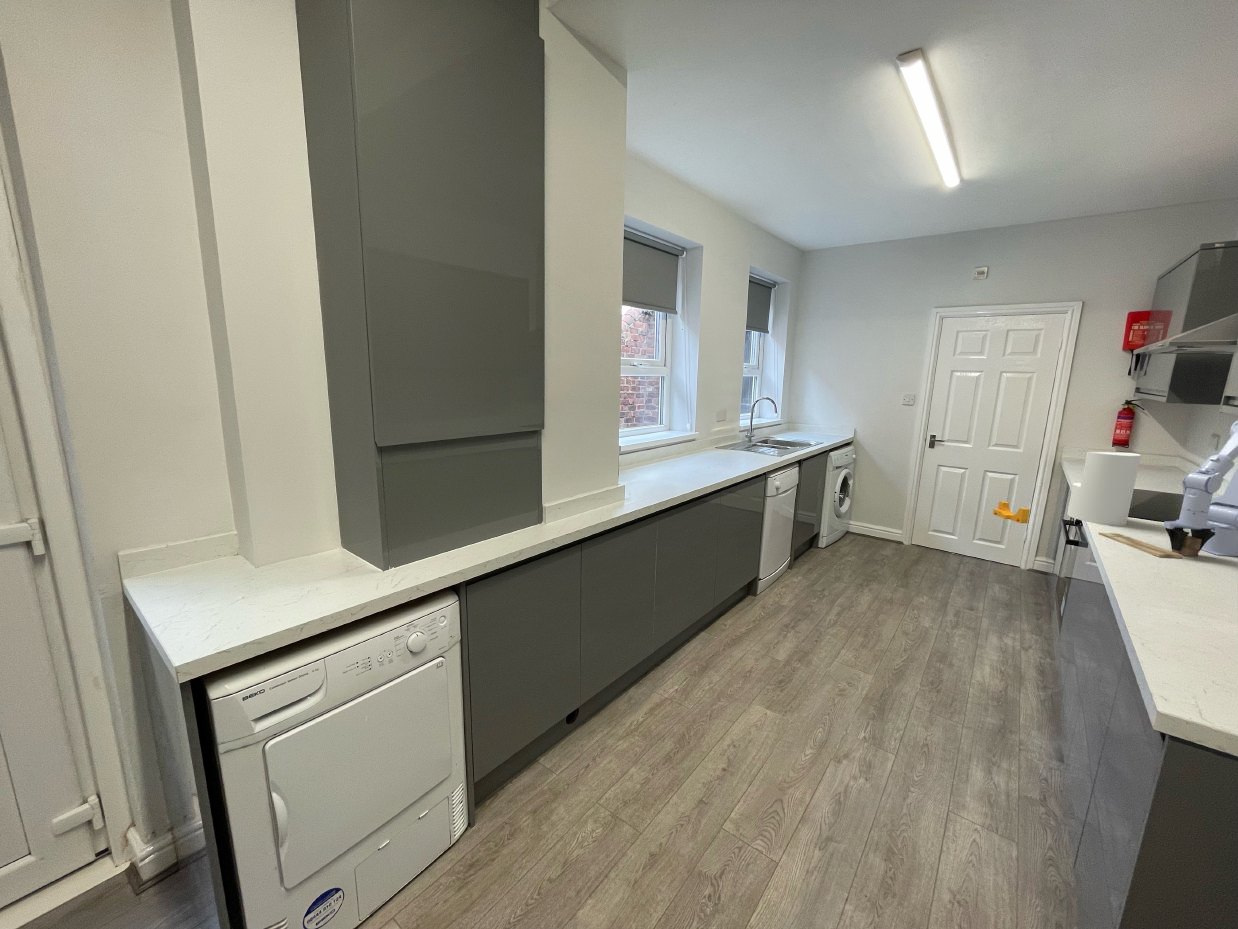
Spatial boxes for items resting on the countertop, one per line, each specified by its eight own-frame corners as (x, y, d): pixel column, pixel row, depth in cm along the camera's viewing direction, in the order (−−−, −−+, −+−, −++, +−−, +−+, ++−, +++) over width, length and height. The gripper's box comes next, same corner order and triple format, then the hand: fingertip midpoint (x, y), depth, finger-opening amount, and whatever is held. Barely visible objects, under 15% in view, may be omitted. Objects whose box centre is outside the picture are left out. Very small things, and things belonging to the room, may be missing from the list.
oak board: (1118, 536, 178) (1119, 533, 178) (1182, 558, 156) (1182, 554, 156) (1098, 535, 178) (1098, 532, 178) (1158, 557, 157) (1159, 553, 157)
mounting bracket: (992, 516, 201) (994, 501, 200) (1002, 516, 201) (1005, 501, 200) (1015, 525, 190) (1018, 509, 188) (1027, 525, 190) (1029, 509, 189)
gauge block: (1184, 552, 162) (1188, 535, 161) (1197, 557, 158) (1201, 539, 157) (1171, 552, 162) (1175, 534, 161) (1184, 556, 158) (1188, 538, 157)
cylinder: (1139, 527, 189) (1154, 456, 184) (1093, 526, 189) (1108, 455, 184) (1096, 515, 206) (1110, 449, 201) (1055, 514, 206) (1067, 448, 201)
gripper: (1205, 507, 161) (1196, 547, 163) (1158, 505, 162) (1149, 545, 164) (1230, 513, 154) (1219, 554, 156) (1180, 511, 155) (1170, 552, 157)
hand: (1185, 550), depth 160 cm, fingers open, 5 cm apart
